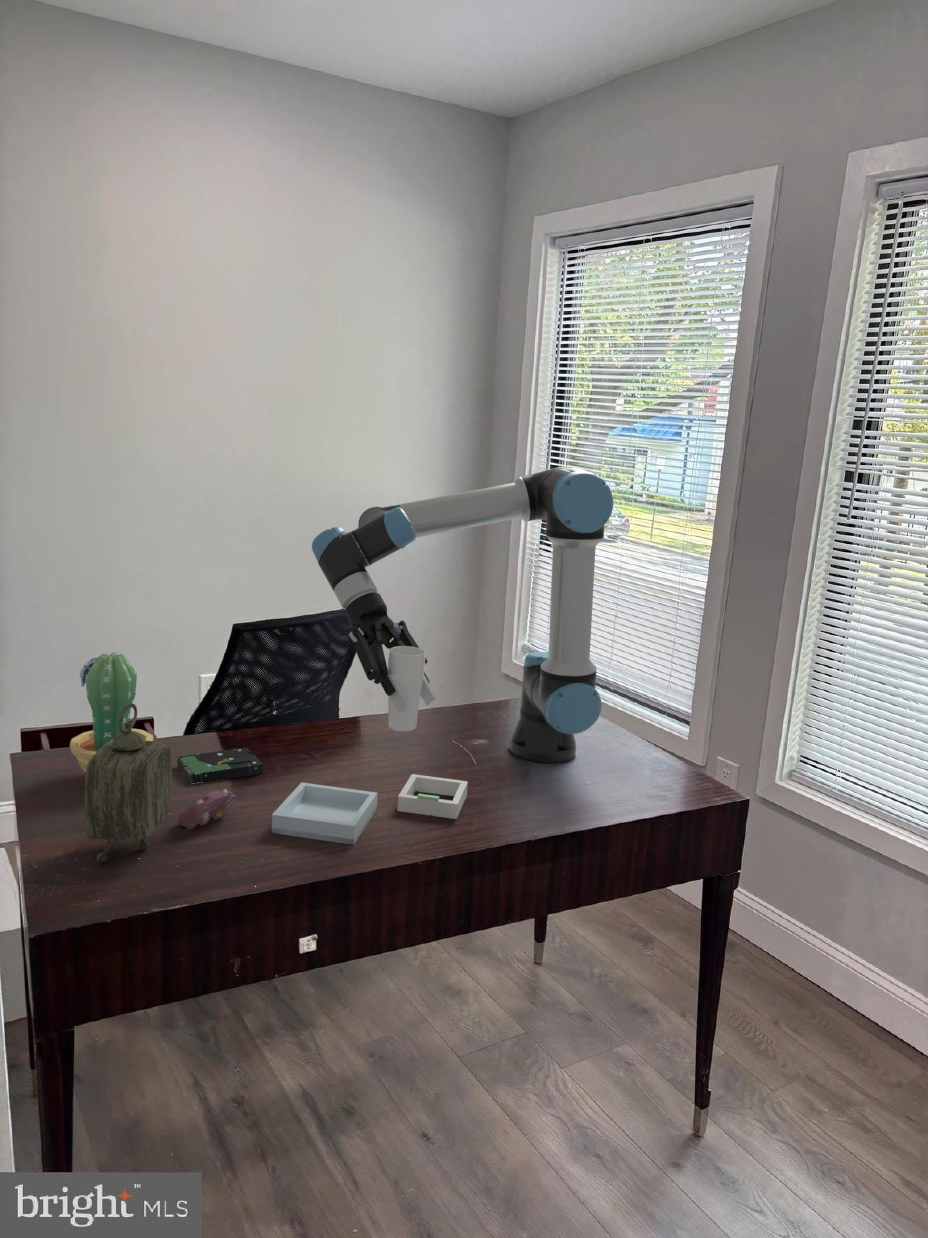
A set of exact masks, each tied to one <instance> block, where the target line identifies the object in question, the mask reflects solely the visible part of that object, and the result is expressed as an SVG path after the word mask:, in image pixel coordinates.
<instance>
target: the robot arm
mask: <svg viewBox="0 0 928 1238" xmlns="http://www.w3.org/2000/svg"><path fill="white" fill-rule="evenodd" d="M611 490H612V489H611V488H610V486H609V485H608V483H607V482H606V480H604V478H602V477H600V476H599V475H597V474H596V473H594V472H592V471H590V470H586V469H580V468H576V467H575V468H574V467H571V466H558V467H552V468H550V469H549V468H548V469H547V470H543V471H539V472H535V473H531V474H526V475H522V476H518V477H516V479H514V481H513V482H512V483H506V484H502V485H501V484H500V485H495V486H491V487H490V486H489V487H485V488H481V489H475V490H469V491H464V492H457V493H452V494H448V495H447V494H446V495H441V496H437V497H433V498H426V499H422V500H421V499H419V500H415V501H409V502H404V503H400V504H396V505H395V504H394V505H389V506H384V507H382V506H372V507H369V508H367V509H365V510H364V511H363V512H362V513H361V515H360V516H359V518H358V524H357V525H358V527H357V528H356V529H353V530H351V531H349V532H347V531H345V529H343V528H342V527H340V526H339V527H338V526H334V527H331V528H330V529H329V528H328V529H325V530H323V531H321V532H320V533H319V534H317V535H316V537H314V539H313V540H312V543H311V551H312V552H313V556H314V557H315V559H316V562H317V564H318V565H319V568H320V570H321V571H322V574H323V575H324V577H325V578H326V580H327V582H328V584H329V585H330V588H331V590H332V591H333V592H334V594H335V596H336V598H337V600H338V602H339V604H340V606H341V608H342V609H343V610H345V611H344V614H345V616H346V618H347V619H348V621H349V623H350V625H351V627H352V628H353V629H352V630H351V631H350V632H349V633H348V634H347V636H346V637H347V640H348V641H349V642H350V644H351V645H352V646H353V648H354V650H355V653H356V656H357V658H358V660H359V661H360V662H359V663H360V664H361V666H362V669H363V671H364V673H365V675H366V678H367V680H368V681H371V682H374V684H376V685H379V684H380V685H381V687H382V689H383V691H384V692H385V694H386V696H387V697H388V696H390V698H391V700H392V702H393V704H394V706H395V707H396V709H397V711H398V713H399V712H402V711H403V710H404V709H405V708H406V707H407V706H409V703H408V701H407V699H406V697H405V695H404V694H403V692H402V690H401V688H400V686H399V684H398V682H397V681H396V679H395V677H394V675H393V674H391V675H389V676H388V674H389V673H388V663H387V661H386V657H385V651H384V647H385V648H386V649H388V650H390V648H392V647H396V646H411V647H417V648H420V647H419V645H418V644H417V641H415V639H414V637H413V636H412V634H411V633H410V631H409V630H408V627H407V624H406V621H404V620H400V621H399V622H395V621H393V620H392V619H391V618H390V617H389V616H388V606H387V604H386V602H385V601H384V599H383V597H382V595H381V593H378V592H379V591H378V588H377V586H376V585H375V583H374V580H373V579H372V577H371V575H370V574H369V572H368V570H367V569H366V568H367V567H369V566H372V565H373V564H375V563H377V562H379V561H380V560H383V559H384V558H386V557H388V556H390V555H392V554H393V553H395V552H397V551H399V550H401V549H405V548H406V547H407V546H408V545H409V544H411V543H413V542H415V541H416V539H417V538H422V537H427V536H432V535H437V534H443V533H448V532H454V531H460V530H464V529H469V528H474V527H479V526H480V527H481V526H485V525H490V524H495V523H499V522H500V523H501V522H506V521H512V520H516V519H517V520H518V519H521V521H522V520H523V522H531V521H537V520H538V521H539V520H540V521H541V520H542V521H543V520H545V521H546V525H545V526H546V528H545V529H546V530H545V532H546V533H545V537H546V538H547V539H548V541H549V542H551V544H552V561H551V563H552V564H551V567H552V568H551V584H550V585H551V587H550V608H549V609H550V610H549V632H548V633H549V634H548V635H549V636H548V651H538V652H537V651H534V652H530V653H528V654H526V656H525V658H524V663H523V666H522V670H523V673H522V683H521V685H522V686H521V695H520V696H521V697H520V711H519V716H518V718H517V722H516V725H515V727H514V729H513V731H512V733H511V736H510V739H509V750H510V752H511V753H512V754H513V755H514V756H516V757H518V758H521V759H523V760H526V761H531V762H535V763H536V762H537V763H545V764H549V763H550V764H554V763H555V764H557V763H564V762H567V761H571V760H572V759H574V758H575V757H576V752H577V742H576V738H575V735H577V734H581V733H583V732H585V731H587V730H589V729H590V728H592V726H593V725H595V723H596V722H598V720H599V717H600V716H601V713H602V707H603V706H602V705H603V704H602V700H601V697H600V696H601V695H600V693H599V692H598V690H597V689H596V685H597V683H596V681H597V666H596V665H595V664H594V663H593V662H592V661H591V657H590V656H591V643H592V641H591V638H592V637H591V636H592V622H593V620H592V619H593V600H594V587H595V586H594V585H595V584H594V582H595V563H596V547H597V545H599V544H600V542H602V541H603V540H604V538H605V537H604V536H605V525H606V524H607V522H608V521H609V520H610V517H611V516H612V513H613V509H614V496H613V494H612V491H611ZM383 645H384V647H383ZM428 662H429V661H428V659H427V658H426V656H425V665H427V664H428ZM430 683H431V682H430V680H429V678H428V676H427V673H426V672H425V671H424V677H423V683H422V689H421V696H420V698H421V699H422V701H423V702H424V705H425V706H428V705H430V704H431V703H432V702H433V701H435V700H436V699H437V698H438V697H437V695H436V693H435V691H434V690H433V688H432V686H431V684H430Z"/></svg>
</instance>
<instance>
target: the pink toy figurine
mask: <svg viewBox="0 0 928 1238" xmlns="http://www.w3.org/2000/svg"><path fill="white" fill-rule="evenodd" d="M236 801H237V796H236V795H234V793H233V792H232V791H228V790H227V788H224V789H222V790H221V791H219V790H216V791H215V790H214V791H210V792H208V793H207V794H205V795H204V796H203V797H201V798H200V799H197V800H196V801H195V802H194V803H192V804H191V806H190V807H188V808H187V809H186V810H185V811H182V812H181V813H180V814H179V815H178V817H177V822H178V824H179V826H180V825H181V827H183V828H186V827H190V826H192V825H194V824H196V823H198V824H199V825H200V826H202V825H203V826H205V825H206V824H207V823H209V822H210V820H211V818H212V819H214V820H218V819H220V818H221V817H222V816H223V815H224V813H225V812H227V811H228V810H229V809H230V808H232V807H233V805H234V804H235V803H236ZM204 824H205V825H204Z"/></svg>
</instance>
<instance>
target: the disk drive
mask: <svg viewBox="0 0 928 1238" xmlns="http://www.w3.org/2000/svg"><path fill="white" fill-rule="evenodd" d="M178 767H179V768H180V769H181V771H182V772H183V773H184V774H185V776H186V777H187V778H188V780H189V781H190V782H191V783H197V782H207V783H210V782H211V781H212V782H217V781H216V780H219V781H223V780H222V779H225V780H230V778H232V779H239V778H243V777H250V776H258V775H262V774H264V763H263V762H262V761H261V760H260V759H259V758H258V757H257V756H256V755H255V754H254V753H253V754H252V752H251V750H250V749H249V747H240V748H239V747H238V748H234V749H232V748H231V749H225V750H218V751H217V750H216V751H211V752H203V753H196V754H189V755H188V754H187V755H181V756H177V768H178ZM179 768H178V769H179ZM180 769H179V770H180ZM181 771H180V772H181ZM182 772H181V773H182ZM183 773H182V774H183ZM185 776H184V777H185ZM186 777H185V778H186ZM188 780H187V781H188ZM189 781H188V782H189ZM209 781H210V782H209ZM190 782H189V783H190Z"/></svg>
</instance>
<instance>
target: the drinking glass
mask: <svg viewBox="0 0 928 1238" xmlns="http://www.w3.org/2000/svg"><path fill="white" fill-rule="evenodd" d="M388 650H389V652H388V660H387V669H388V673H389V674H388V676H389V675H391V674H393V675H394V677H395V679H396V681H397V682H398V684H399V686H400V688H401V690H402V692H403V694H404V695H405V697H406V699H407V701H408V703H409V706H407V707H406V708H405V709H404V710H403V711H402V712H399V713H398V711H397V709H396V707H395V706H394V704H393V702H392V700H391V698H390V696H388V695H387V697H388V699H387V700H388V703H387V705H388V706H387V707H388V708H387V709H388V711H387V712H388V719H387V726H388V727H389V729H391V730H393V731H396V732H404V733H405V732H411V731H413V730H415V729H416V728H417V725H418V723H417V722H418V713H419V708H420V701H421V689H422V683H423V677H424V672H425V667H426V666H425V665H426V664H425V657H426V651H425V650H424V649H423V648H420V647H419V648H417V647H411V646H396V647H392V648H390V649H388Z"/></svg>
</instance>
